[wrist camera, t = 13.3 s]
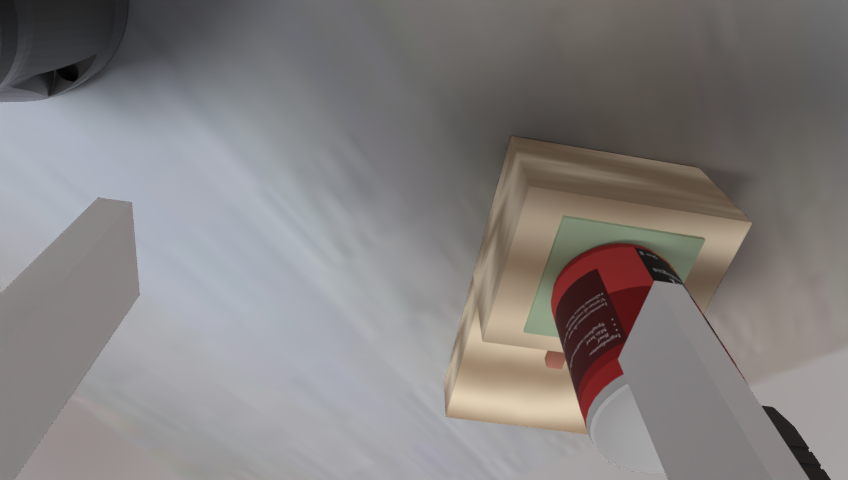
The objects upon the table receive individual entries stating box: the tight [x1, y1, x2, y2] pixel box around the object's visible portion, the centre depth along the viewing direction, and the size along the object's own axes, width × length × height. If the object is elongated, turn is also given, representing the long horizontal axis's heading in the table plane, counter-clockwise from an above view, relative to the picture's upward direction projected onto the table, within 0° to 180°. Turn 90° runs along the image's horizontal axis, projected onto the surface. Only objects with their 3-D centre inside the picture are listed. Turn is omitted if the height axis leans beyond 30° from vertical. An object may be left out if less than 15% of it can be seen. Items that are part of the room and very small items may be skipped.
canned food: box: [551, 243, 748, 473], centre depth 33 cm, size 8×8×11 cm
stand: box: [444, 136, 752, 434], centre depth 45 cm, size 24×14×8 cm, turn 170°
